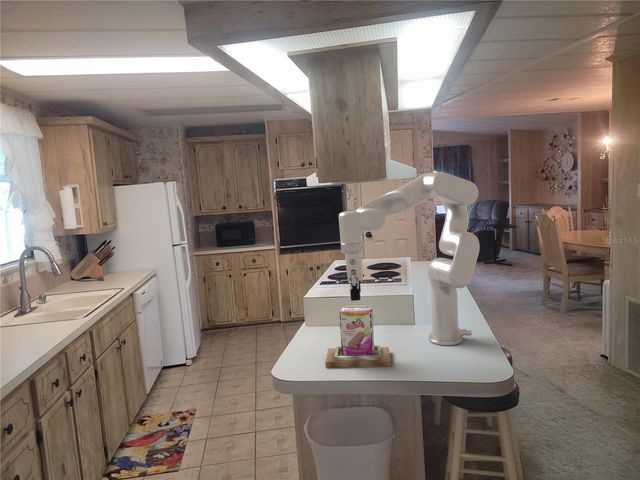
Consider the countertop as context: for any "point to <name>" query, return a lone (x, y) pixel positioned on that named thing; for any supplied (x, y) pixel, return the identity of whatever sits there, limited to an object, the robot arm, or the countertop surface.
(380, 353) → the walnut plinth
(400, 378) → the countertop surface
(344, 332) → the candy bar box
